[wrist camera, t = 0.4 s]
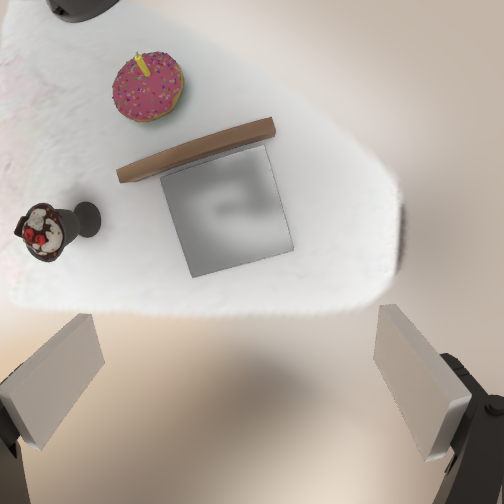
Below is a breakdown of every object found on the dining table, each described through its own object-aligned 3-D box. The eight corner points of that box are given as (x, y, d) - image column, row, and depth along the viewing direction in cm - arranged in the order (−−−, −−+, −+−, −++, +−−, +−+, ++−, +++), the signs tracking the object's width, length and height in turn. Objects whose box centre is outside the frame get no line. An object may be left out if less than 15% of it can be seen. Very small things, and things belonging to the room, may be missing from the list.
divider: (133, 170, 38) (116, 170, 33) (270, 124, 36) (271, 116, 31) (136, 181, 38) (119, 183, 33) (274, 136, 36) (275, 130, 31)
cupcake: (165, 52, 34) (131, 14, 22) (206, 94, 35) (181, 63, 24) (117, 97, 35) (68, 76, 24) (154, 140, 37) (111, 129, 25)
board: (162, 177, 38) (159, 178, 37) (264, 145, 36) (263, 144, 36) (194, 275, 41) (192, 278, 40) (293, 248, 39) (294, 250, 38)
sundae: (115, 224, 39) (48, 250, 25) (84, 252, 41) (17, 286, 26) (89, 185, 38) (16, 194, 24) (60, 215, 39) (-12, 235, 25)
